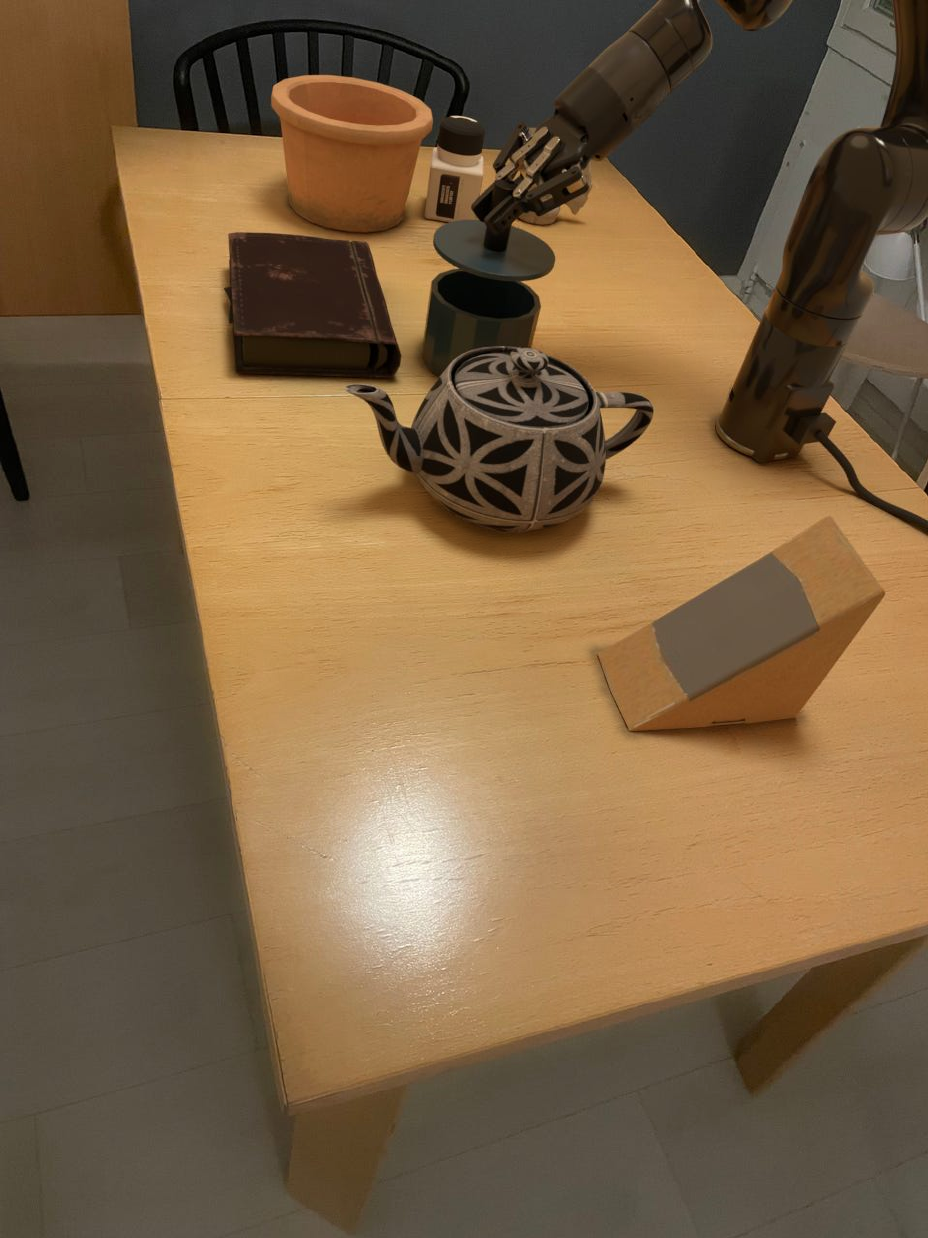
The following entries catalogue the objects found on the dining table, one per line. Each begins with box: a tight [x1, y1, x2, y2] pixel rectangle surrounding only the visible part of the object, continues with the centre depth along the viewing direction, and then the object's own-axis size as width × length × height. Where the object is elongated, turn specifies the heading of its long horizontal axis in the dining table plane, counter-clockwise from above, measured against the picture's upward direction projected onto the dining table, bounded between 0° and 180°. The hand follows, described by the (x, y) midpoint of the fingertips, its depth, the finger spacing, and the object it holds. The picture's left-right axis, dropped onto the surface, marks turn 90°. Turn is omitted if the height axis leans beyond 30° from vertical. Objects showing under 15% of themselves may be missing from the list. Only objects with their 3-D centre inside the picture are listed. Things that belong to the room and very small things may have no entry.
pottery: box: [270, 74, 434, 234], centre depth 124 cm, size 22×22×14 cm
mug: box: [517, 160, 593, 226], centre depth 135 cm, size 8×12×12 cm, turn 92°
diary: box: [223, 231, 402, 379], centre depth 103 cm, size 19×25×5 cm
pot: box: [421, 268, 542, 378], centre depth 101 cm, size 12×12×8 cm
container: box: [424, 115, 486, 223], centre depth 130 cm, size 8×8×13 cm
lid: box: [432, 179, 556, 282], centre depth 93 cm, size 13×13×8 cm
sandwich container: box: [597, 515, 886, 732], centre depth 68 cm, size 9×15×15 cm, turn 102°
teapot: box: [343, 346, 655, 533], centre depth 82 cm, size 19×31×15 cm, turn 106°
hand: (483, 221), depth 92 cm, fingers closed on lid, 2 cm apart
